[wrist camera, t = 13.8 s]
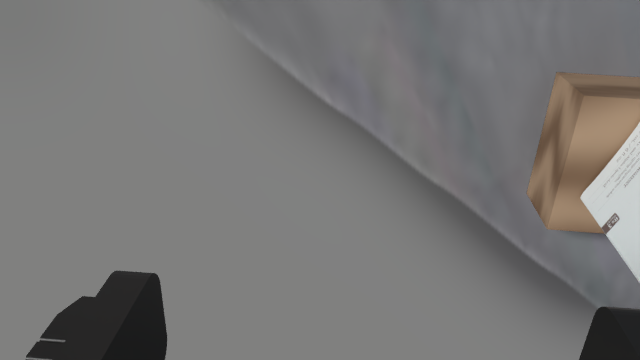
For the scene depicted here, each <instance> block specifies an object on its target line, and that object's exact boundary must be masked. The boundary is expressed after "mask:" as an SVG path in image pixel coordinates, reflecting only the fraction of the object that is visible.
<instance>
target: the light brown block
mask: <svg viewBox="0 0 640 360" xmlns="http://www.w3.org/2000/svg"><path fill="white" fill-rule="evenodd" d="M639 122H640V77H624V76H608V75H592V74H576V73H560V72H557V73H556V77H555V81H554V85H553V89H552V93H551V97H550V101H549V105H548V109H547V113H546V117H545V122H544V126H543V130H542V134H541V138H540V142H539V146H538V150H537V154H536V158H535V162H534V166H533V170H532V174H531V178H530V182H529V186H528V190H527V195H528V197H529V198H530V200H531V202H532V204H533V205H534V207H535V209H536V211H537V212H538V214H539V216H540V218H541V219H542V221H543V223H544V225H545V226H546V228H547V229H551V230H565V231H578V232H591V233H604V232H603V230H602V229H601V227H600V226H599V225H598V223H597V222H596V220H595V219H594V217H593V216H592V214H591V213H590V212H589V210H588V209H587V207H586V206H585V205H584V203H583V202H582V200H581V198H580V197H581V195H582V193H583V192H584V191H585V190H586V188H587V187H588V186H589V185H590V184H591V183H592V182H593V181H594V180H595V179H596V177H597V176H598V175H599V174H600V173H601V171H602V170H603V169H604V168H605V167H606V165H607V164H608V163H609V162H610V160H611V159H612V158H613V157H614V155H615V154H616V153H617V152H618V151H619V149H620V148H621V147H622V145H623V144H624V143H625V141H626V140H627V139H628V138H629V136H630V135H631V134H632V132H633V131H634V130H635V128H636V127H637V125H638V124H639Z"/></svg>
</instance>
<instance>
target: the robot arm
mask: <svg viewBox="0 0 640 360" xmlns="http://www.w3.org/2000/svg"><path fill="white" fill-rule="evenodd" d="M166 348H167V332H166V324H165V317H164V308H163V301H162V293H161V285H160V280H159V277H158V275H157V274H155V273H142V272H128V271H114V272H113V273H112V274H111V275H110V276H109V278H108V279H107V281H106V282H105V284H104V285H103V287H102V288H101V289H100V291H99V293H98V294H97V295H96V297H85V296H84V297H83V296H82V297H81V298H79V299H78V300H77V301H75V302H74V303H73V304H71V305H70V306H68V307H67V308H66V309H64V310H63V311H62V312H60V313H59V314H57V316H56V317H55V318H54V320H53V321H52V322H51V324H50V325H49V326H48V328H47V329H46V330H45V332H44V333H43V334H42V336H41V337H40V342H37V343H36V344H35V345H34V347H33V348H32V349H31V350H30V352H29V353H28V354H27V356H26V360H165V355H166ZM579 360H640V309H631V308H616V307H600V308H599V309H598V310H597V311H596V313H595V315H594V317H593V320H592V323H591V326H590V329H589V332H588V335H587V338H586V341H585V344H584V347H583V350H582V352H581V355H580V359H579Z"/></svg>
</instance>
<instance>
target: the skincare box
mask: <svg viewBox="0 0 640 360" xmlns="http://www.w3.org/2000/svg"><path fill="white" fill-rule="evenodd" d="M580 198H581V200H582V202H583V203H584V205H585V206H586V207H587V209H588V210H589V212H590V213H591V214H592V216H593V217H594V219H595V220H596V222H597V223H598V225H599V226H600V227H601V229H602V230H603V232H604V233H605V235H606V236H607V237H608V239H609V240H610V241H611V243H612V244H613V246H614V247H615V249H616V250H617V251H618V253H619V254H620V256H621V257H622V259H623V260H624V261H625V263H626V264H627V266H628V267H629V268H630V270H631V271H632V273H633V274H634V275H635V277H636V278H637V280H638V281H639V283H640V122H639V124H638V125H637V127H636V128H635V130H634V131H633V132H632V134H631V135H630V136H629V138H628V139H627V140H626V141H625V143H624V144H623V145H622V147H621V148H620V149H619V151H618V152H617V153H616V154H615V155H614V157H613V158H612V159H611V160H610V162H609V163H608V164H607V165H606V167H605V168H604V169H603V170H602V171H601V173H600V174H599V175H598V176H597V177H596V179H595V180H594V181H593V182H592V183H591V184H590V185H589V186H588V187H587V188H586V190H585V191H584V192H583V193H582V195H581V197H580Z"/></svg>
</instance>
